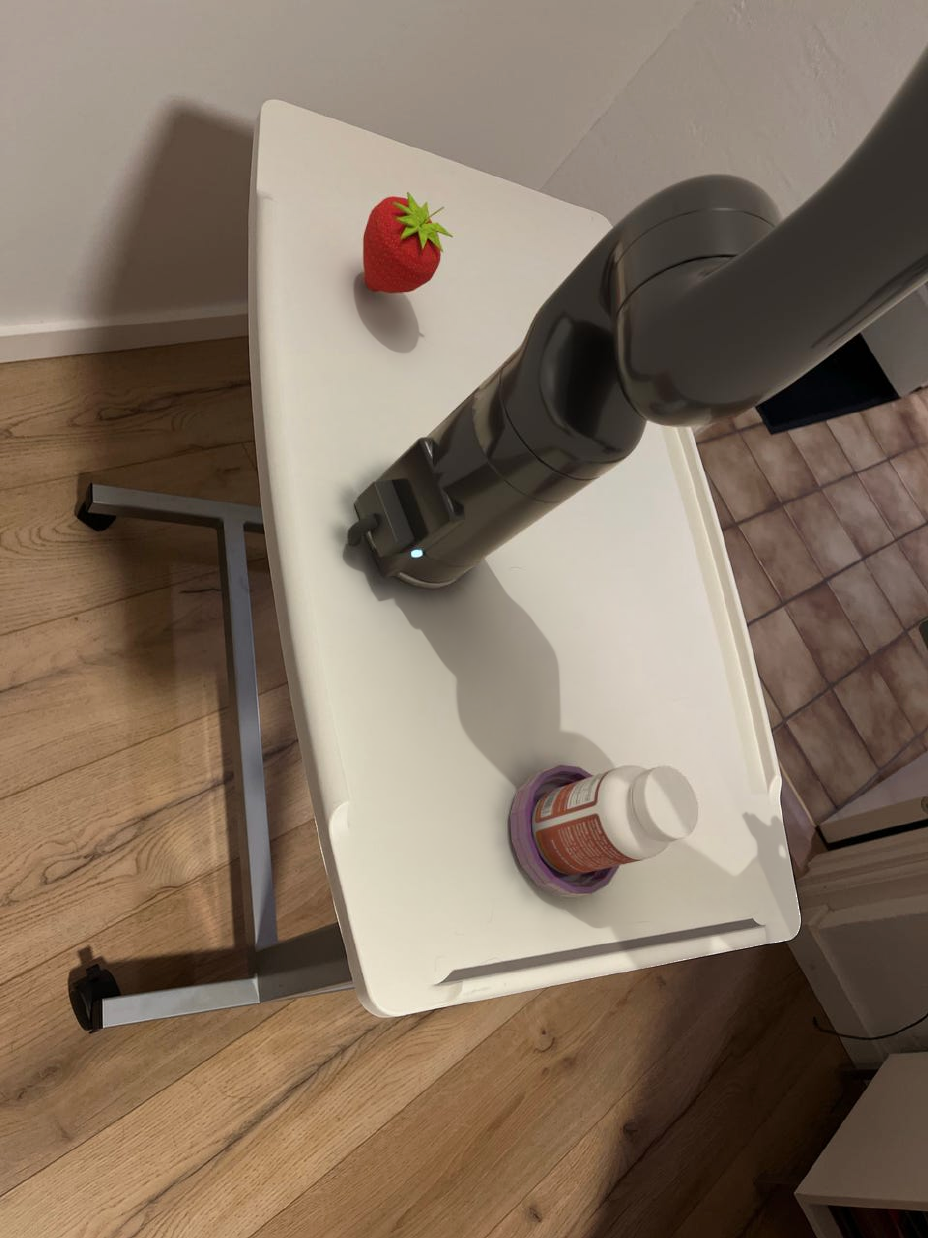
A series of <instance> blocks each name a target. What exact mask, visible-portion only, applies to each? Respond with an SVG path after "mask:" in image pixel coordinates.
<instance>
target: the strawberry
mask: <svg viewBox="0 0 928 1238" xmlns="http://www.w3.org/2000/svg"><path fill="white" fill-rule="evenodd" d="M406 195H407V197H401V196H387V197H385V198H383V199H382V200H381V201H380V202H379V203H378V204H376V205H375V206H374V207H373V208H372V209H371V211H370V214H369V216H368V220H367V223H366V226H365V229H364V232H363V239H362V264H363V270H364V282H365V285H366V287H367V289H368V290H369V291H372V292H374V293H375V292H377V293H378V292H380V293H386V294H403V293H404V294H405V293H411V292H413V291H415V290H416V289H417V290H418V289H419V288H420V287H422V286H424V285H425V284H427V283H429V282H430V281H431V280H432V278H433V277H434V275H435V273H436V271H437V269H438V268H439V265H440V263H441V256H442V253H444V250H443V247H442V244H441V240H440V237H439V234H441V235H444V236H447V237H451V238H453V237H454V236H453V235H452V234H451V233H450V232H449V231H447V230H446V229H445V228H444V227H443V226H442V225H441V224H440V223H438V222H433V221H432V219H431V218H432V217H433V216H435V215H436V214H437V213H439V212H440V211H442V210H443V209H444V208H445V206H444V205H443V206H442V207H440V208H438V209H437V210H436V211H434V212H433V213H432V214H430V212H429V206H428V205H429V204H428V201H426V202H424V204H423V205H422V207H420V205H419V204H418V202H416V200H415V199H414V197H413V196H412V194H410V192H409V191H407V192H406ZM438 233H439V234H438ZM441 252H442V253H441Z"/></svg>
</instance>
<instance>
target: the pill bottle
mask: <svg viewBox="0 0 928 1238" xmlns="http://www.w3.org/2000/svg"><path fill="white" fill-rule="evenodd" d="M698 819H699V803H698V799H697V795H696V793H695V791H694V789H693V786H692V785H691V783H690V781H689V780H688V779H687V777H686V776H685V775H684V774H683V773H682V772H680V771H679V770H678V769H677V768H674V767H672V766H669V765H660V766H656V767H652V768H649V769H647V768H646V767H643V766H640V765H637V764H636V765H635V764H628V765H621V766H618V767H615V768H612V769H610V770H607V771H604V772H601V773H597V774H596V775H593V776H592V777H589V778H586V779H584V780H581V781H578V782H575V783H572V784H569V785H566V786H563V787H560V788H557V789H554V790H552V791H550V792H548V793H546V794H545V795H544V796H543V797H541V799H540V800H539V801H538V803H537V804H536V806H535V809H534V811H533V815H532V835H533V839H534V843H535V845H536V848H537V850H538V852H539V853H540V855H541V857H542V858H543V859H544V861H545V862H546V863H547V864H548V865H549V866H550V867H551V868H553V869H554V870H556V871H557V872H559V873H562V874H566V875H577V874H583V873H587V872H592V871H596V870H601V869H605V868H610V867H614V866H618V865H620V866H622V865H623V866H624V865H627V864H631V863H636V862H640V861H644V860H648V859H651V858H654V857H656V856H658V855H660V854H661V853H662V852H664V851H665V850H666V849H667V847H668V846H669V845H670V844H671V843H672V842H673V843H674V842H675V841H679V840H683V839H685V838H687V837H689V836H691V834H692V833H693V831H694V830H695V829H696V826H697V823H698Z"/></svg>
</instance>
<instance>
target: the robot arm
mask: <svg viewBox="0 0 928 1238" xmlns="http://www.w3.org/2000/svg"><path fill="white" fill-rule="evenodd" d="M927 282H928V42H927V43H926V45H925V46H924V47H923V49H922V50H921V52H920V54H918V56H917V58H916V60H915V61H914V63H913V64H912V66H911V67H910V69H909V71H908V72H907V73H906V75H905V77H904V78H903V80H902V81H901V82H900V84H899V86H898V87H897V89H896V91H895V92H894V94H893V96H892V97H891V98H890V100H889V101H888V103H887V105H886V106H885V107H884V108H883V110H882V112H881V113H880V115H878V118H876V121H875V122H874V123H873V125H872V126H871V128H870V129H869V131H868V133H867V134H866V135H865V136H864V137H863V139H862V140H861V142H860V143H859V144H858V146H856V148H855V149H854V150H853V151H852V152H851V154H850V155H849V156H847V158H846V160H845V161H844V162H843V163H842V164H841V165H840V166H839V167H838V169H836V170H835V171H834V173H833V174H831V176H830V177H829V178H828V179H827V180H826V181H824V183H823V184H822V185H821V186H820V187H819V188H818V189H816V190H815V192H813V193H812V194H811V195H810V196H809V197H808V198H807V199H806V200H804V201H803V202H802V203H801V204H800V205H799V206H797V207H796V208H795V209H794V210H793V211H792V212H790V213H789V214H788V215H787V216H785V217H784V218H783V215H782V213H781V210H780V208H779V206H778V204H777V203H776V201H775V200H774V198H773V197H772V196H771V195H770V194H769V193H768V192H767V191H766V190H765V189H763V187H762V186H760V185H758V184H756V182H754V181H752V180H750V179H748V178H746V177H742V176H739V175H734V174H727V173H726V174H725V173H707V174H701V175H696V176H691V177H688V178H685V179H682V180H679V181H676V182H674V183H672V184H669V185H667V186H665V187H664V188H662V189H660V190H658V191H656V192H654V193H653V194H652V195H650V196H648V197H647V198H645V199H644V200H643V201H641V202H640V203H638V204H637V205H636V206H635V207H633V208H632V209H631V210H629V212H627V213H626V214H625V215H624V216H623V217H622V218H621V219H619V221H618V222H617V223H616V224H615V225H614V226H613V227H612V228H611V229H610V230H608V232H607V233H606V234H605V235H604V236H603V237H602V238H601V239H600V240H599V241H598V242H597V243H596V244H595V246H594V247H593V248H592V249H591V250H590V251H589V252H588V253H587V254H586V256H585V257H584V258H583V259H581V261H580V262H579V263H578V264H577V265H576V267H575V268H574V269H572V271H571V272H570V273H569V274H568V275H567V276H566V277H565V279H564V280H563V281H562V282H561V283H560V284H559V285H558V287H557V288H555V290H554V291H552V293H551V294H550V295H549V297H548V298H547V299H546V300H545V301H544V302H543V303H542V305H541V306H540V308H539V309H538V310H537V312H536V313H535V315H534V317H533V319H532V320H531V322H530V324H529V326H528V329H527V330H526V331H527V332H526V333H525V336H524V339H523V341H522V342H521V344H520V345H519V347H517V348H516V349H515V350H514V351H513V352H512V354H510V356H509V357H508V358H507V359H506V360H505V361H504V362H503V363H501V365H499V366H498V367H497V368H496V369H495V370H494V371H493V372H492V373H491V374H490V375H489V376H488V377H487V378H486V379H485V380H484V381H482V383H481V384H479V386H478V387H476V388H475V389H474V391H472V392H471V393H470V394H469V395H468V396H467V397H466V398H465V399H464V400H463V401H462V402H461V403H460V404H458V406H457V407H456V408H455V409H453V410H452V412H450V413H449V414H448V415H447V416H446V417H445V418H444V419H443V420H442V421H441V422H440V423H439V424H438V425H436V427H435V428H434V429H432V431H431V432H430V433H429V434H427V435H426V436H424V437H420V438H417V439H416V441H414V442H413V444H411V445H410V446H409V447H408V448H407V449H406V450H405V451H404V452H403V453H402V454H401V455H399V457H398V458H397V459H396V460H395V461H394V462H393V463H392V464H391V465H390V466H389V467H388V468H387V469H386V470H385V471H384V472H383V473H382V474H380V476H379V477H378V478H376V479H375V481H373V482H372V483H371V484H370V485H368V486H367V487H366V488H365V489H364V490H363V491H362V492H361V493H360V494H359V495H358V496H357V498H356V499H355V500H354V507H355V509H356V511H357V514H358V516H359V520H358V521H356V522H355V523H353V525H351V526H350V527H349V528H348V530H347V535H346V539H347V540H346V541H347V542H346V543H348V545H349V546H351V547H358V546H359V545H360V544H361V541H362V536H364V535H365V536H366V537H365V538H366V539H367V543H368V545H369V546H370V548H371V551H372V554H373V557H374V560H375V562H376V565H377V567H378V571H379V572H380V574H381V576H382V577H384V578H389V577H396V578H398V579H399V580H401V581H403V582H405V583H407V584H409V585H412V586H414V587H418V588H422V589H441V588H444V587H447V586H449V585H451V584H453V583H454V582H456V581H458V580H459V579H460V578H461V577H462V576H463V575H464V574H465V573H466V572H468V571H469V570H470V569H472V568H473V567H475V566H476V565H478V564H479V563H481V562H482V561H483V560H484V559H486V558H487V557H488V556H490V555H492V554H493V553H494V552H496V551H497V550H499V549H500V548H501V547H503V546H504V545H505V544H507V543H508V542H510V541H511V540H512V539H514V538H515V537H517V536H518V535H519V534H521V533H523V532H524V531H525V530H526V529H529V528H530V527H531V526H532V525H534V524H535V523H537V522H538V521H540V520H541V519H542V518H544V517H545V516H546V515H548V514H550V513H551V512H553V510H556V508H558V507H559V506H560V505H562V504H563V503H565V502H566V501H567V500H570V499H571V498H572V497H574V496H575V495H577V494H578V493H580V492H581V491H582V490H583V489H585V488H586V487H588V486H589V485H590V484H592V483H594V482H595V481H597V479H599V478H601V477H602V476H604V475H605V474H607V473H608V472H610V471H611V470H613V469H614V468H616V467H617V466H618V465H620V464H621V463H622V462H624V461H625V460H626V459H627V458H629V456H631V454H632V453H634V451H635V449H636V448H637V447H638V445H639V443H640V442H641V439H642V438H643V435H644V432H645V429H646V426H647V423H648V422H650V423H653V424H655V425H658V426H662V427H670V428H695V427H700V426H706V425H711V424H715V423H719V422H721V421H724V420H727V419H731V418H733V417H735V416H738V415H741V414H743V413H744V412H747V411H749V410H751V409H753V408H755V407H756V406H759V405H760V404H762V403H764V402H766V401H768V400H769V399H771V398H772V397H774V396H776V395H777V394H779V393H780V392H782V391H783V390H784V389H786V388H788V387H789V386H790V385H792V384H793V383H795V382H796V381H797V380H799V379H801V378H802V377H803V376H804V375H806V374H807V373H808V372H810V371H811V370H812V369H814V368H815V367H816V366H818V365H820V363H821V362H823V361H824V360H826V359H827V358H829V356H830V355H833V354H834V353H835V352H836V351H837V350H839V349H840V348H841V347H842V346H844V345H845V344H846V343H847V342H849V341H850V340H852V339H853V338H854V337H855V336H857V335H858V334H860V333H861V332H862V331H863V330H865V329H866V328H867V327H869V326H870V325H871V324H873V323H874V322H875V321H876V320H877V319H879V318H880V317H881V316H883V315H884V314H885V313H887V312H888V311H889V310H891V309H892V308H894V307H895V306H896V305H898V304H899V303H900V302H901V301H902V300H904V299H906V298H907V297H908V296H909V295H911V294H912V293H913V292H915V291H917V289H919V288H920V287H922V286H923V285H924V284H926V283H927ZM918 633H919V634H920V636H921V639H922V640H923V643H924V645H925V647H926V650H928V618H925V619H924V620H923V621H922V622H921V623H920V624H919V626H918Z"/></svg>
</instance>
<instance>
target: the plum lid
mask: <svg viewBox="0 0 928 1238" xmlns="http://www.w3.org/2000/svg"><path fill="white" fill-rule="evenodd" d="M592 776H594V775H593V774H592V773H589V772H588V771H587V770H585V769H583V768H581V767H580V766H576V765H567V764H558V765H555V766H552V767H549V768H547V769H543V770H541V771H538V772H537V773H534V774H532V775H530V776H528V777H527V778H526V780H525V781H524V782H523V783H522V785H521V786H520V787H519V788H518V790H517V791H516V793H515V795H514V799H513V802H512V807H511V811H510V815H509V820H510V835H511V843H512V847H513V848H514V852H515V854H516V856H517V859H518V862H519V864H520V867H521V868H522V869H523V870H524V871H525V872H526V874H527V875H528V876H529V878H530V879H531V881H533V882H534V884H535V885H536V886H537V887H539V888H540V889H542V890H544V891H546V892H548V893H550V894H552V895H553V896H555V897H565V898H566V897H567V898H568V897H571V898H576V897H577V898H578V897H582V896H588V895H592V894H594V893H596V892H598V891H599V890H601V889H603V888H605V887H606V886H608V885H609V884H610V882H611V881H612V879H613V877H614V876H615V874H616V873H617V872H618V870H619V868H620V866H621V865H618V866H614V867H610V868H605V869H601V870H596V871H592V872H587V873H583V874H577V875H566V874H562V873H559V872H557V871H556V870H554V869H553V868H551V867H550V866H549V865H548V864H547V863H546V862H545V861H544V859H543V858H542V857H541V855H540V853H539V852H538V850H537V848H536V845H535V843H534V839H533V835H532V815H533V811H534V809H535V806H536V804H537V803H538V801H539V800H540V799H541V797H543V796H544V795H545V794H546V793H548V792H550V791H552V790H554V789H557V788H560V787H563V786H566V785H569V784H572V783H575V782H578V781H581V780H584V779H586V778H589V777H592Z"/></svg>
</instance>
